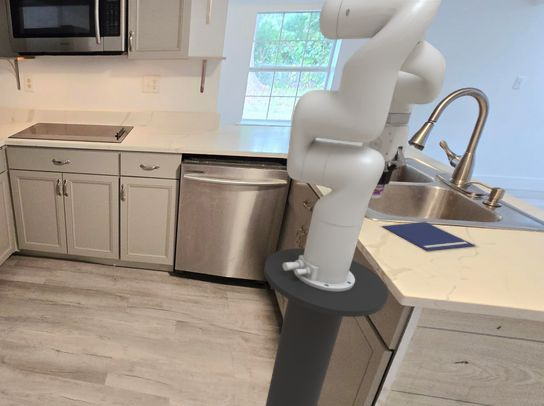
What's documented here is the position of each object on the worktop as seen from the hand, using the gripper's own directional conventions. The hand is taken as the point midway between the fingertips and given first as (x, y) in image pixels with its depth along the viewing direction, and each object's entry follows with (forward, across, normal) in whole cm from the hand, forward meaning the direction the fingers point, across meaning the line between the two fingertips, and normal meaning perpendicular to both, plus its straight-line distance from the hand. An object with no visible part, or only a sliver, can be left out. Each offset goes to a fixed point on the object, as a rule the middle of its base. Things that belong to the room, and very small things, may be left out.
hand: (374, 179), depth 106 cm
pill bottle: (+5, 0, 0) cm, 5 cm away
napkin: (+13, +12, +9) cm, 20 cm away
